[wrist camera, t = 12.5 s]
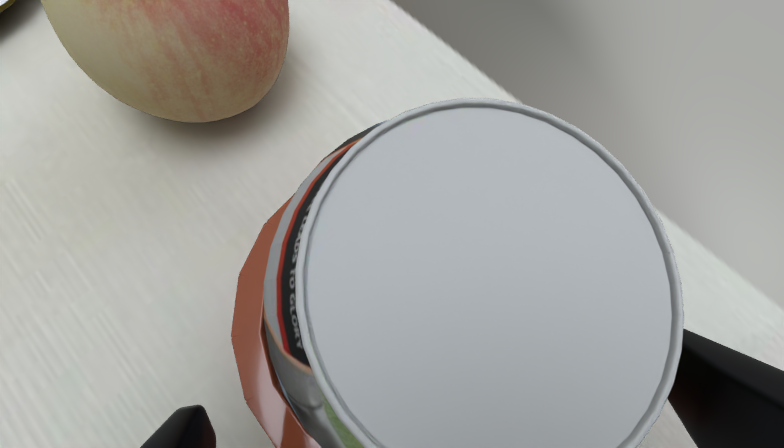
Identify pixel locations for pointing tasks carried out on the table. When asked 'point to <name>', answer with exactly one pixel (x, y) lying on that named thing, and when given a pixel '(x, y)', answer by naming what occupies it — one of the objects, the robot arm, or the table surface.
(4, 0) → the plate
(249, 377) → the bowl
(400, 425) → the beverage can
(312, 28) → the table surface
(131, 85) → the apple
